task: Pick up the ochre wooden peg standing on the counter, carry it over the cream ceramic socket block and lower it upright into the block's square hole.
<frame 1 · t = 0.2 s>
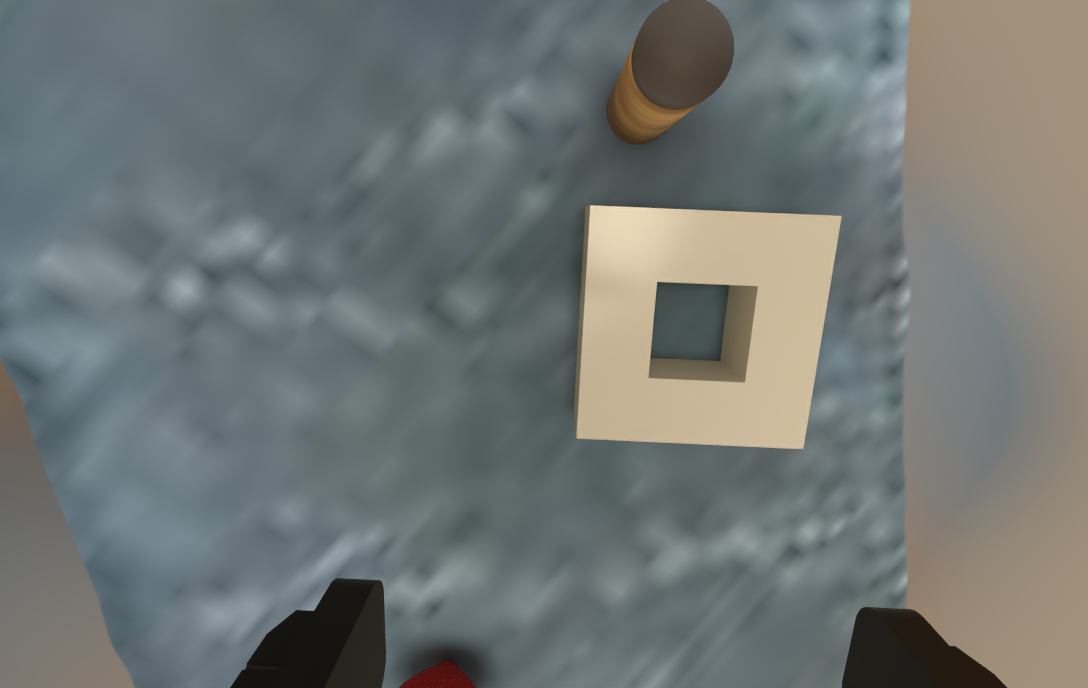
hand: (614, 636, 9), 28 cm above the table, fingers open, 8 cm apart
socket block: (682, 317, 36), on the table
peg: (639, 110, 33), on the table
strawberry: (448, 660, 43), on the table
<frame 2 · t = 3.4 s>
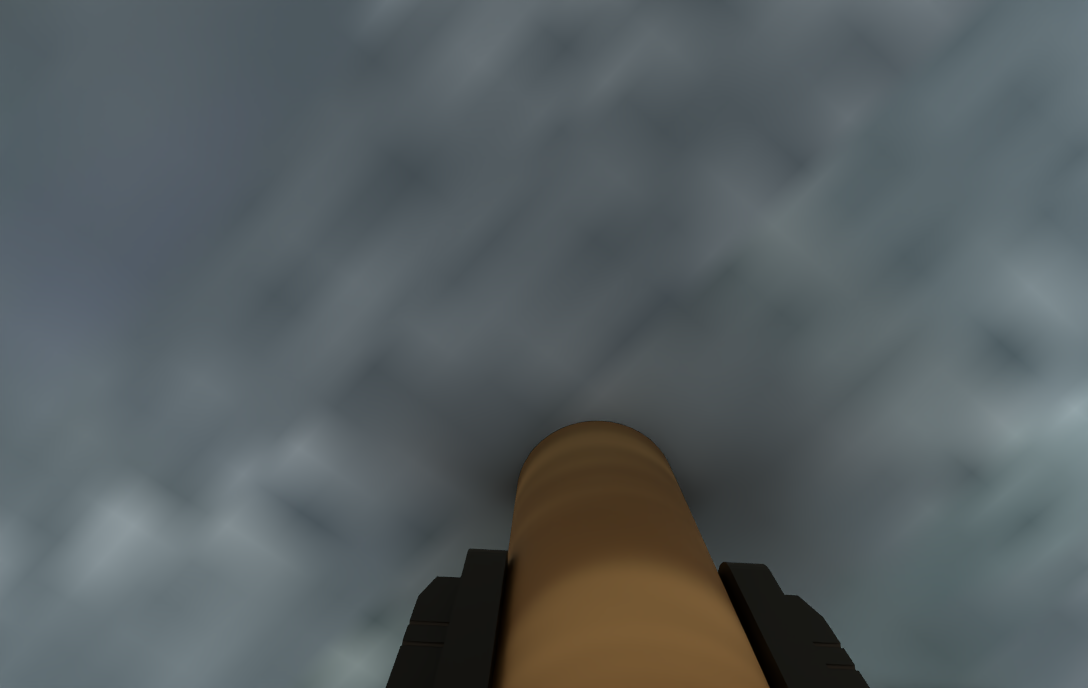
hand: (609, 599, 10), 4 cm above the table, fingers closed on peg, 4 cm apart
peg: (595, 494, 14), on the table, touching gripper
when the fingers open (7 cm above the table, at t = 8.4 s): peg drops 3 cm, resting in socket block.
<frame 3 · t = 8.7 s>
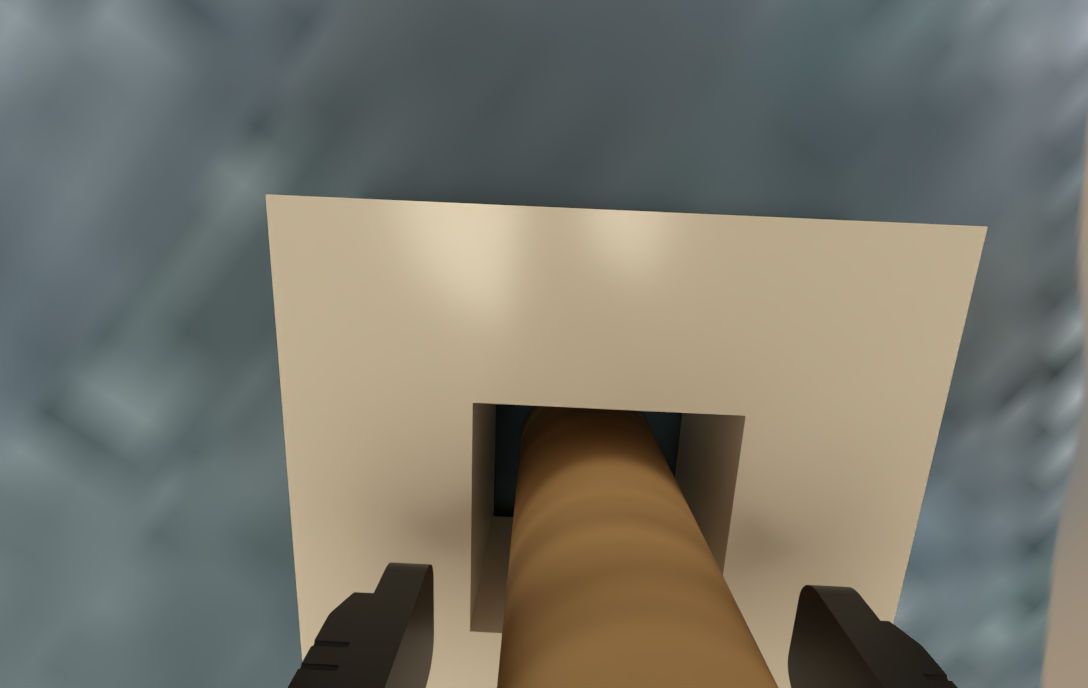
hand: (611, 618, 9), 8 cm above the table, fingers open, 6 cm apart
socket block: (586, 438, 17), on the table
peg: (584, 439, 17), resting in socket block
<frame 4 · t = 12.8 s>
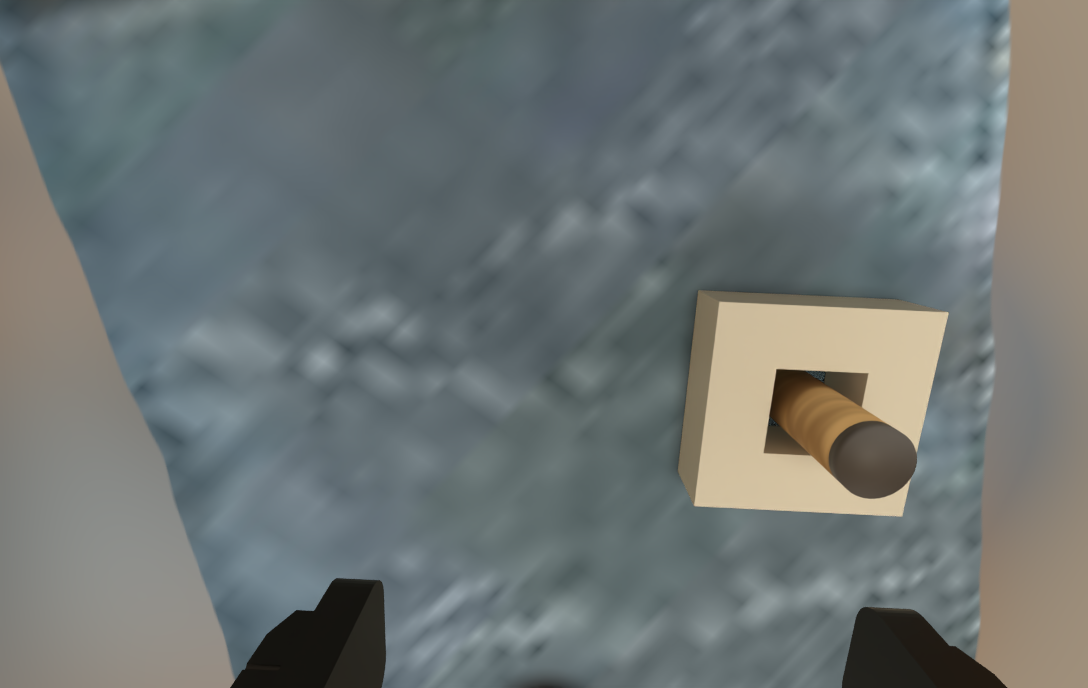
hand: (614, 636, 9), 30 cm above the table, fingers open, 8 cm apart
socket block: (782, 389, 39), on the table
peg: (781, 389, 39), resting in socket block
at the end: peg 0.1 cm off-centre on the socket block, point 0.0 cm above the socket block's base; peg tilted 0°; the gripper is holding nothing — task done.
